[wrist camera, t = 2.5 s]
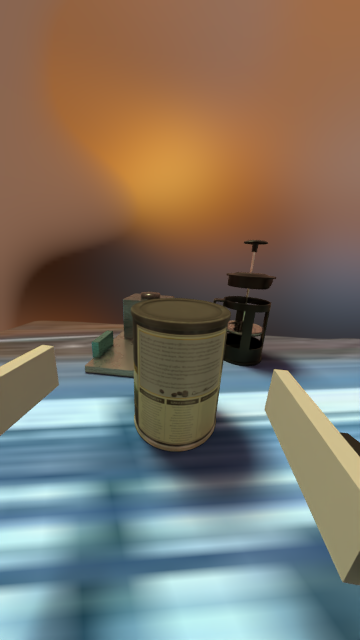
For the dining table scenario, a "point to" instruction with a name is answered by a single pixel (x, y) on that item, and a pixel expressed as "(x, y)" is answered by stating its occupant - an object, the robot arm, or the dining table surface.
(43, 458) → the dining table surface
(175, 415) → the coffee can
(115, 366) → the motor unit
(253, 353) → the french press
